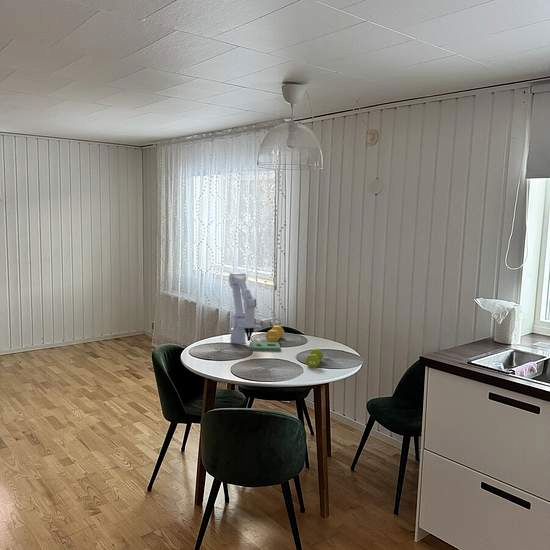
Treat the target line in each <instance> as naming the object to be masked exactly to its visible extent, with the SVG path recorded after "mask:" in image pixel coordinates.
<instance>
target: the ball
mask: <svg viewBox="0 0 550 550" xmlns="http://www.w3.org/2000/svg"><path fill="white" fill-rule="evenodd" d="M255 342H256V344H257V345H260V344H261V342H262V339H260V338H258V339H256V340H255Z"/></svg>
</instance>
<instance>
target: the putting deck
mask: <svg viewBox="0 0 550 550" xmlns="http://www.w3.org/2000/svg"><path fill="white" fill-rule="evenodd" d="M249 349H250V352H281V351H282V347H281V345H280V343H279V342H278V341H277V342H268V341H261V344H260V345H257V344H256V341H249Z"/></svg>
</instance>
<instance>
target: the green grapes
mask: <svg viewBox="0 0 550 550" xmlns="http://www.w3.org/2000/svg"><path fill="white" fill-rule="evenodd" d="M323 358H324V353H323V352H322V350H321V349H320V348H312V349H311V351H310V352H309V354H308V355H307V357H306V358H305V360H304V361H305V365H306V366H307V368H309V369H317V368H318V366H319V364H320V363H321V361H322V359H323Z"/></svg>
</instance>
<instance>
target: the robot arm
mask: <svg viewBox="0 0 550 550" xmlns="http://www.w3.org/2000/svg"><path fill="white" fill-rule="evenodd" d="M228 276H229V277H228V281H229V287H230V288H232V297H233V304H234V312H235V313H234V314H233V315H231V326H232V328H230V337H229V340H230V344H247V342H251V337H252V334H253V333H254V331H255V330H258V329H259V330H261V329H262V325H257V324H255V309H256V307H257V299H256V298H255V296H253V295H252V293H251V291H250V289H248V287H247V286H248V285H247V282H246V281H247V274H246V272H230V273H229V275H228ZM246 337H247V340H246Z"/></svg>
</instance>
